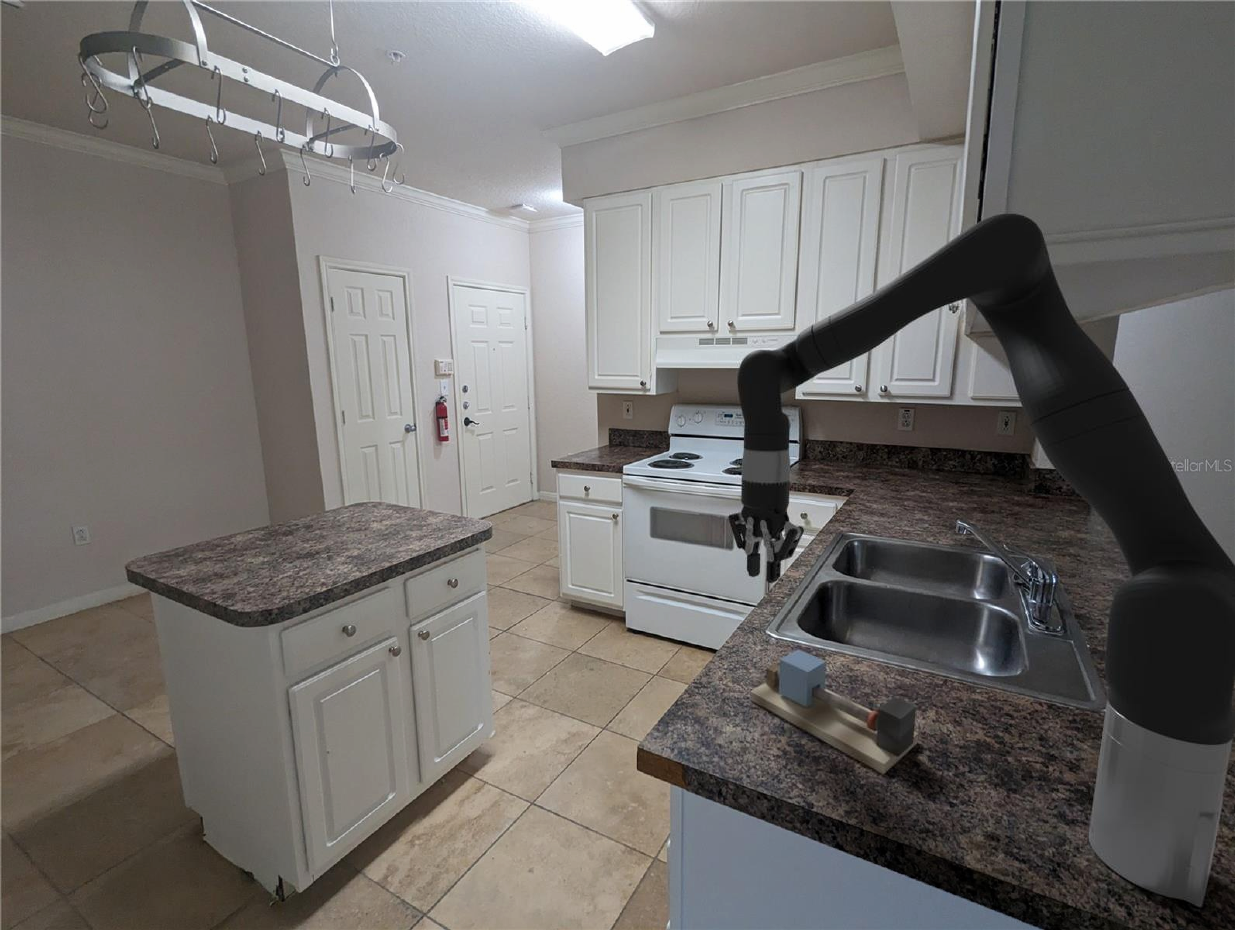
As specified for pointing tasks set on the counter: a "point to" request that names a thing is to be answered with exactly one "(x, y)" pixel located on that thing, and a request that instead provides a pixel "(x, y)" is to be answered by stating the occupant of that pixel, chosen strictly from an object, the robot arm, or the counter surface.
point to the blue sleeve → (801, 676)
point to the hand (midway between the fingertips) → (762, 578)
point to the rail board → (846, 722)
